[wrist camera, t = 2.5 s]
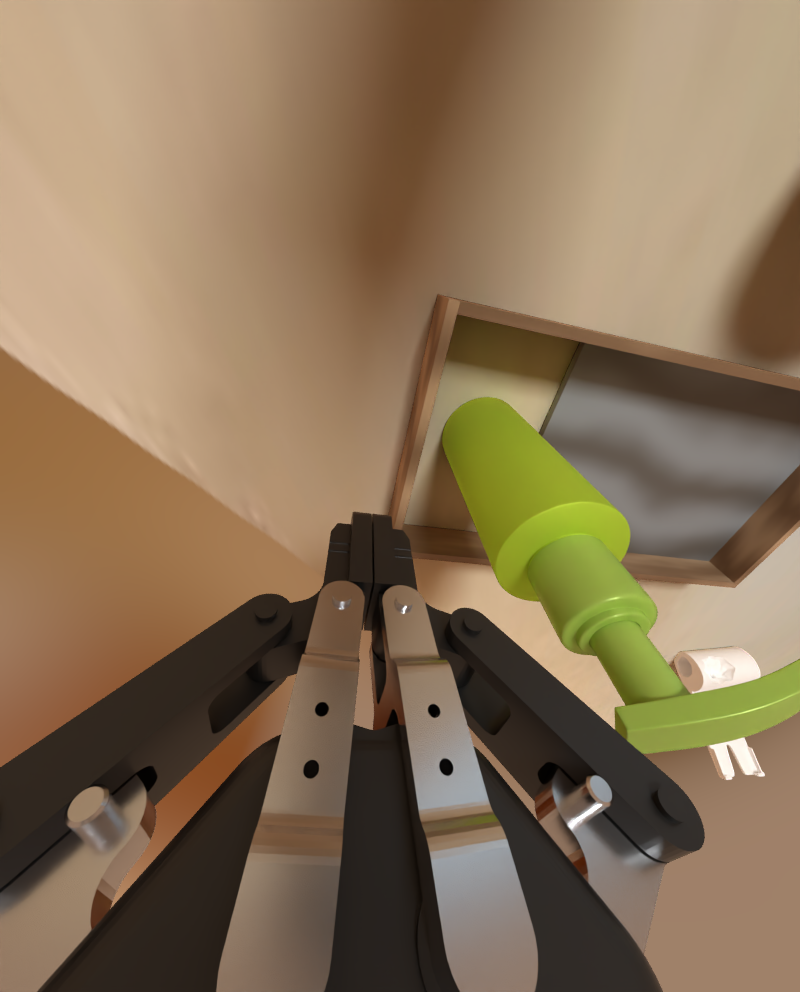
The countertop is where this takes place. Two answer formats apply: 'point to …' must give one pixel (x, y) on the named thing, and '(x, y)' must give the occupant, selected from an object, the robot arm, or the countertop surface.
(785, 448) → the wooden tray
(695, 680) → the plastic part
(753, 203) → the countertop surface
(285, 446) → the countertop surface
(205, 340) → the countertop surface
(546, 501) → the soap dispenser
